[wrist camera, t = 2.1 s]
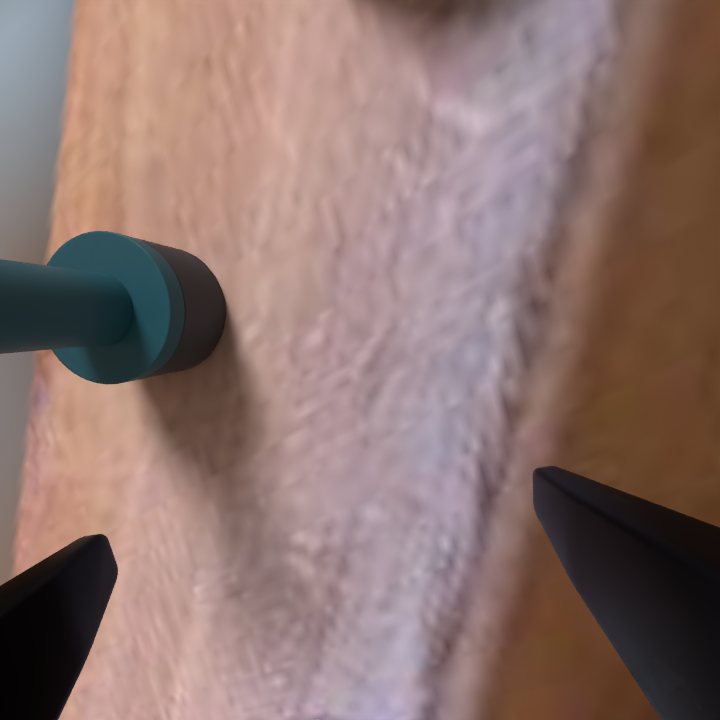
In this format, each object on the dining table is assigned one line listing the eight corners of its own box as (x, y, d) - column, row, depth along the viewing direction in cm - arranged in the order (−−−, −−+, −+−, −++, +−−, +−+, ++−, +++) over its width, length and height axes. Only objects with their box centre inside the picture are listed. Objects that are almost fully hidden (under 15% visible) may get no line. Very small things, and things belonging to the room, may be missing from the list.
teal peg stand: (239, 355, 21) (-115, 425, 8) (134, 382, 23) (-328, 482, 9) (207, 233, 21) (-225, 77, 7) (102, 267, 22) (-430, 188, 9)
